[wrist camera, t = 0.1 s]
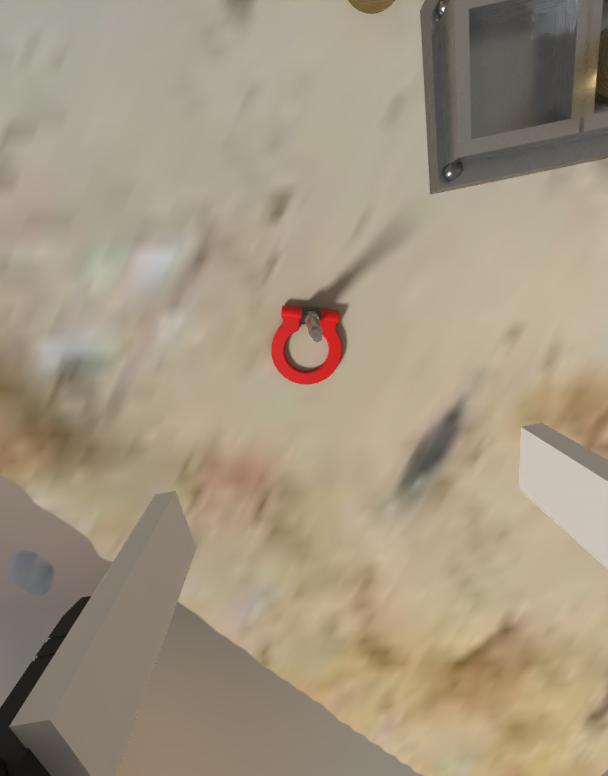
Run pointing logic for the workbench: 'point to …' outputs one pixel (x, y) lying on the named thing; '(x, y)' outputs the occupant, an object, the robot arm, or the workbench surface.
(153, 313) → the workbench surface
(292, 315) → the tow hook
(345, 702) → the workbench surface
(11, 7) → the workbench surface
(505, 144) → the housing
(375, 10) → the sleeve
